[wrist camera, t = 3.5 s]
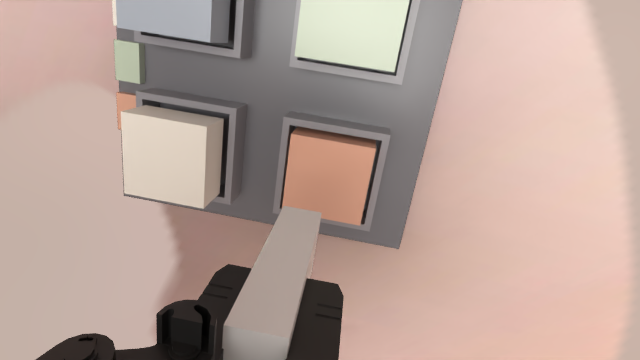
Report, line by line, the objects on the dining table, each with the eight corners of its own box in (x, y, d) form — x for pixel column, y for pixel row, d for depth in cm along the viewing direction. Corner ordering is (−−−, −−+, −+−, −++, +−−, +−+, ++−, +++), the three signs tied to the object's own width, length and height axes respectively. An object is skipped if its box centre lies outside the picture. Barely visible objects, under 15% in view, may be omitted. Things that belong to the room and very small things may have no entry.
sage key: (303, 55, 20) (294, 55, 18) (315, -47, 18) (307, -60, 16) (391, 69, 20) (394, 72, 17) (412, -33, 18) (418, -45, 16)
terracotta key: (289, 195, 25) (281, 210, 22) (298, 125, 23) (291, 133, 21) (360, 209, 24) (359, 225, 22) (375, 138, 23) (375, 148, 20)
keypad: (132, 190, 28) (105, 206, 25) (121, -115, 21) (83, -140, 18) (397, 241, 26) (401, 264, 24) (476, -68, 20) (493, -87, 17)
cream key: (147, 179, 24) (124, 193, 21) (146, 105, 22) (120, 111, 20) (219, 193, 23) (203, 208, 21) (223, 118, 22) (206, 126, 19)
